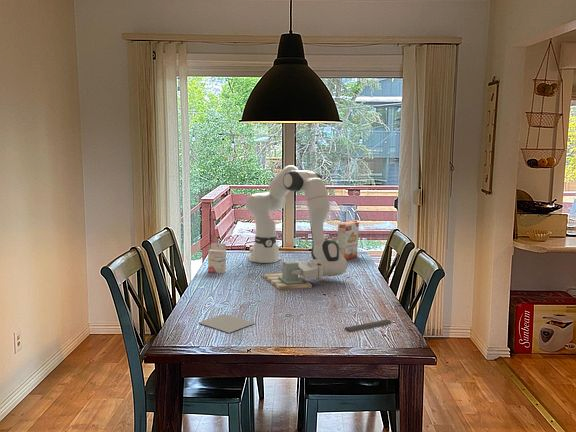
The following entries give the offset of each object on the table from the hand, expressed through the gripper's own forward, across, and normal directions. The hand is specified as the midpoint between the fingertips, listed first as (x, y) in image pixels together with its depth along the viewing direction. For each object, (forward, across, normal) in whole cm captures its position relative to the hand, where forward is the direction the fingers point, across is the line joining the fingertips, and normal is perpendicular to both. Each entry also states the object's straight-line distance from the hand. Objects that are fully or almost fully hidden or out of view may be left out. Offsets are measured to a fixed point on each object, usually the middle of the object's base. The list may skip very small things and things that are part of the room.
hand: (288, 270), depth 268 cm
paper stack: (+35, +47, +7) cm, 59 cm away
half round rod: (-9, +65, +8) cm, 66 cm away
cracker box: (-54, -46, +7) cm, 71 cm away
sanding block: (-1, 0, +5) cm, 5 cm away
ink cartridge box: (+27, -34, +7) cm, 44 cm away
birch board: (-1, -5, +7) cm, 9 cm away
